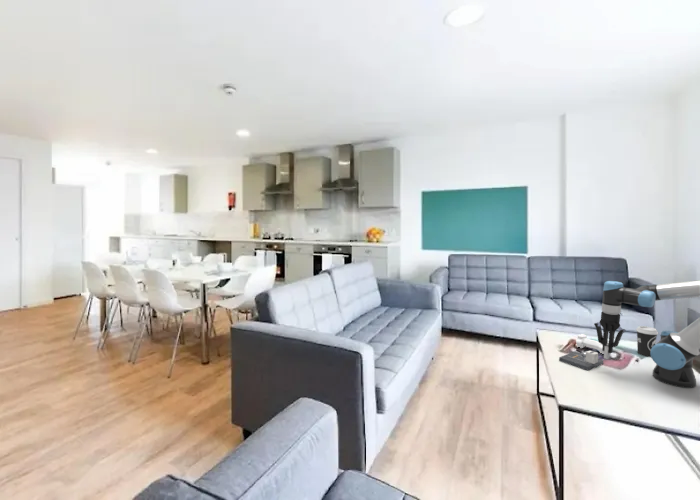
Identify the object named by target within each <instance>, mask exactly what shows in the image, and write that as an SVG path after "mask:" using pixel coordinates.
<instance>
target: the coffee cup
mask: <svg viewBox="0 0 700 500" xmlns="http://www.w3.org/2000/svg"><path fill="white" fill-rule="evenodd" d="M635 330H636V336H637V337H636V341H637V342H636V343H637V344H636V345H637V347H636V348H637V354H638V355H641V356H645V357H651V354H650V352H651V348H652V347H653V346H654V345H655V344H656V341H657V337H658V335H659V332H658V330H657V329H656V328H655V327H651V326H647V325H646V326H645V325H638V326H637V327H636V329H635Z"/></svg>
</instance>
